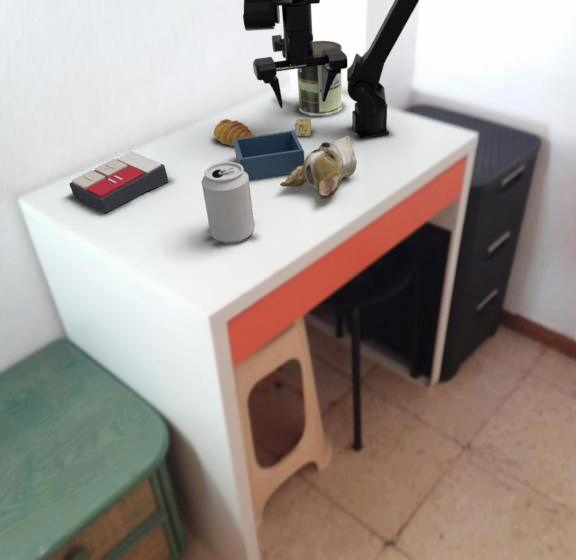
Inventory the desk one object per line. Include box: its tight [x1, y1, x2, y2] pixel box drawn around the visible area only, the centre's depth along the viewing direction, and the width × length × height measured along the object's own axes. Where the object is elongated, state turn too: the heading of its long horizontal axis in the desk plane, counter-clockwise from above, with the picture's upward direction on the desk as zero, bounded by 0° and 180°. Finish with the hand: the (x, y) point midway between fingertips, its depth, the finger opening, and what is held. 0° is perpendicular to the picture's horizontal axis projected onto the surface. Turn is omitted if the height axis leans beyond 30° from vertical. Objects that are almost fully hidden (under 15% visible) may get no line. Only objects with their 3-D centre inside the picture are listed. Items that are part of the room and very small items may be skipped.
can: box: [201, 161, 255, 244], centre depth 98 cm, size 8×8×12 cm
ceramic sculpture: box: [279, 135, 358, 200], centre depth 111 cm, size 11×9×15 cm
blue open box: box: [233, 130, 305, 181], centre depth 120 cm, size 12×10×5 cm
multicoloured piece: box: [69, 151, 169, 214], centre depth 116 cm, size 11×4×15 cm
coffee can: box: [296, 40, 343, 117], centre depth 139 cm, size 10×10×14 cm
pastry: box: [213, 118, 254, 147], centre depth 131 cm, size 9×7×4 cm
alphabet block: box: [294, 117, 312, 137], centre depth 132 cm, size 3×3×3 cm
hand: (302, 104), depth 129 cm, fingers open, 9 cm apart
